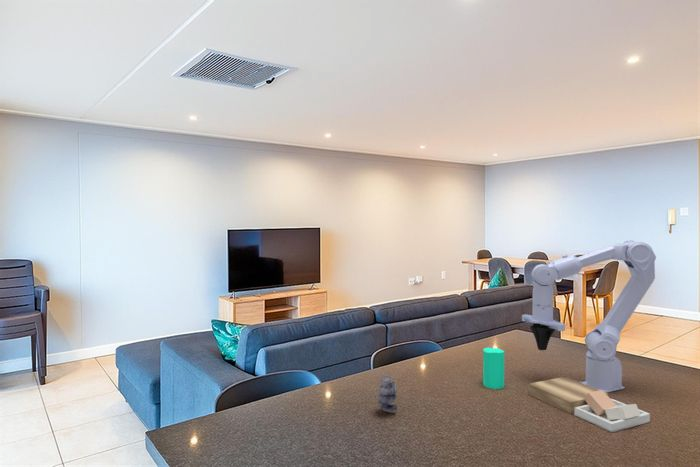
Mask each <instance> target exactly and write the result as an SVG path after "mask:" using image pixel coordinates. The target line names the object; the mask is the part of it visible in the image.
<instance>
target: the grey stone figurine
mask: <svg viewBox="0 0 700 467" xmlns="http://www.w3.org/2000/svg"><path fill="white" fill-rule="evenodd" d="M397 392H398V388H397V383H395V379H394V378H393V377H391V375H389V374H386V376H382V377H381V380H380V386H379V388H378V393H379V395H378V396H377V399H376V400H377V404H378V406H379V408H380V409H381V410H382V411H384V412H386V413H397V412H398V405H397V404H396V403H394V402H395V401H396V398H397Z"/></svg>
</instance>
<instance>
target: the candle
mask: <svg viewBox="0 0 700 467" xmlns="http://www.w3.org/2000/svg"><path fill="white" fill-rule="evenodd" d="M482 351H483V352H482V353H483V360H482V361H483V363H482V367H483V368H482V372H483V373H482V385H483V387H485V388H488V389H493V390H501V389H504V387H505V350H503V349H501V348H499V347H496V348H495V347H493V348H492V347H486V348H485V347H484V348H483V350H482Z"/></svg>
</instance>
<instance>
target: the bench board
mask: <svg viewBox="0 0 700 467" xmlns="http://www.w3.org/2000/svg"><path fill="white" fill-rule="evenodd" d="M580 382H581V381H577V380H574V379H572V378H570V377H566V376H560V377H557V378H551V379H545V380H542V381H536V382H530V383H528V384H527V386H528V389H527V391H528V394H527V395H528V396H531V397H534V398H535V399H538V400H540V401H542V402H544V403H546V404H548V405H550V406H553V407H555V408H557V409H559V410H562V411H564V412H565V413H568V414H569V415H572V414H575V407H579V406H583V405H587V404H588V403H587V402H586V401H585V400H584V398H585V397H586V395H587V394H588V393H590V392H594V391H599V390H598V389H596V388H593V387H590V386H588V385H585V384H582V383H580ZM605 393H606V392H605ZM609 393H610V392H607V393H606V395H607V396H608V397H609V395H610V394H609ZM609 398H610V397H609Z"/></svg>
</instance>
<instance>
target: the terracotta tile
mask: <svg viewBox="0 0 700 467" xmlns="http://www.w3.org/2000/svg"><path fill="white" fill-rule="evenodd" d="M611 399H612V398H610V397H608V396H607V395H606V393H605V392H604V391H603V390H599V391H594V392H590V393H588V394H587V395H586V397H585V398H584V400H585V401H586V402H587V403H588V405H589V406H590V407H591V408H592V409H593V410H594V412H595V413H596V414H597V415H598V416H600V415H604V414H606V412H605V409H607V408H611V407H615V406H617V405H616V404H615V403H614V402H613V401H612V400H611Z"/></svg>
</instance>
